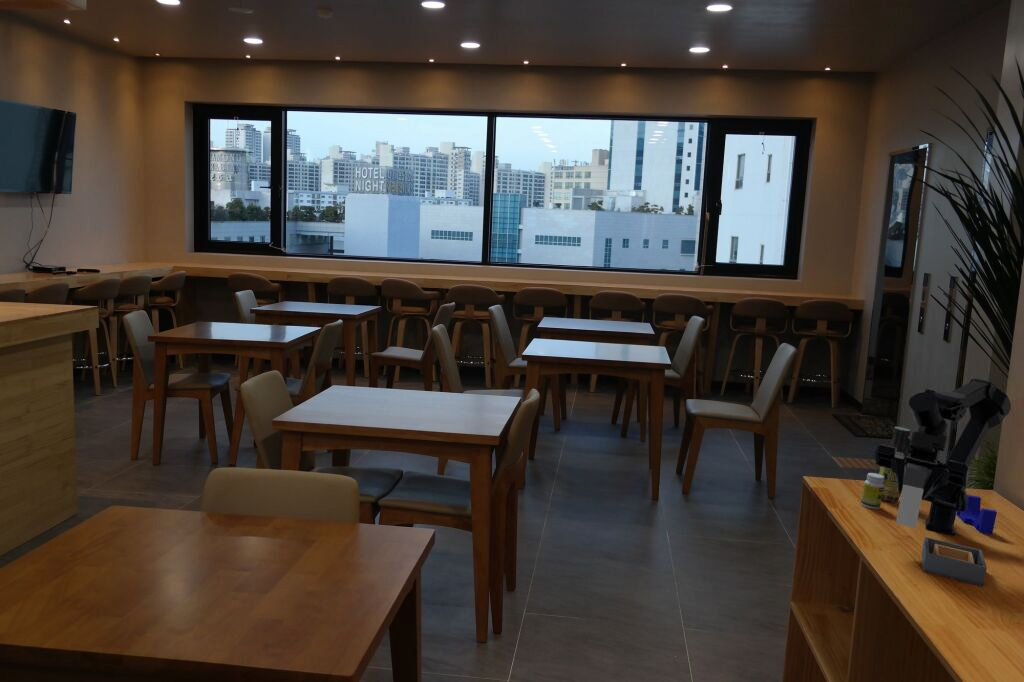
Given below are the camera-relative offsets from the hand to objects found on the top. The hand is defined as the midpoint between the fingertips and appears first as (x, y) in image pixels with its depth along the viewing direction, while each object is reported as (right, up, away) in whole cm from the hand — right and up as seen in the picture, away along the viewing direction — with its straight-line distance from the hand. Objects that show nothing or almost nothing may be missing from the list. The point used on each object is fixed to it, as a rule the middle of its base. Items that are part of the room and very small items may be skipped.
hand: (911, 495), depth 179 cm
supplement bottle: (+6, -9, +34) cm, 35 cm away
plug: (0, -6, +2) cm, 7 cm away
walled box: (+7, -15, -4) cm, 17 cm away
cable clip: (+29, -13, +28) cm, 43 cm away
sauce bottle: (+14, -9, +41) cm, 44 cm away
